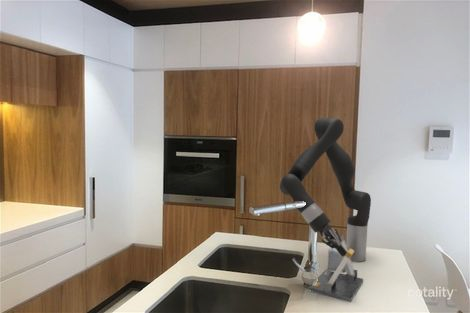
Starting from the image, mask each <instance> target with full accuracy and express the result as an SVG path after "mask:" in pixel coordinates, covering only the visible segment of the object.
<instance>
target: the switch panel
mask: <svg viewBox="0 0 470 313" xmlns="http://www.w3.org/2000/svg"><path fill="white" fill-rule="evenodd" d="M353 270H354V272H355V274H356V275H355V277H354V276H353V275H349V274H347V273H346V274H344V273H342V272H341V273H340V274H339V276H338V277H337V279H336V280H335V282H334V285H333V286H332V284H328V281H329V280H330V279H331V277H332V276H333V274H334V272H335V271H334V270H328V269H324V270H323V271H322V272H321V273H320V275H319V276H318V277H317V278H318V281H317V285H315V286H311V285H309V287H308V291H309V290H311V291H310V292H312V291H313V293H316V294H320V295H324V296H327V297H331V298H334V299H338V300H342V301H345V302H349V303H352V302H353V300H354V298H355V297H356V294H357V293H358V291H359V289H361V286H363V284H364V278H363V277H358V270H357V269H354V268H353Z"/></svg>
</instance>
